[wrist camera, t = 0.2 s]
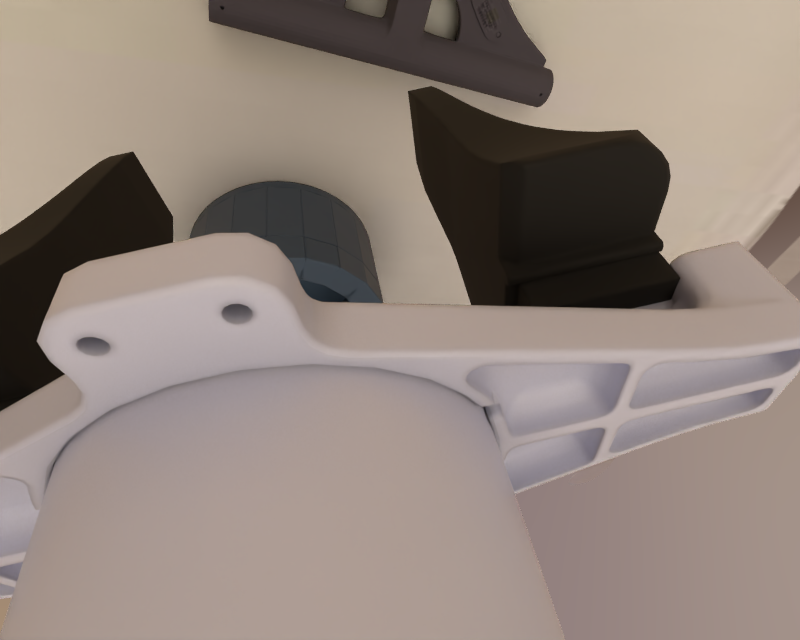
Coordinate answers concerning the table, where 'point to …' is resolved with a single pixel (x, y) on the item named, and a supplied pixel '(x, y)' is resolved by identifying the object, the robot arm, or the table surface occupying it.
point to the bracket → (408, 41)
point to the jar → (302, 236)
